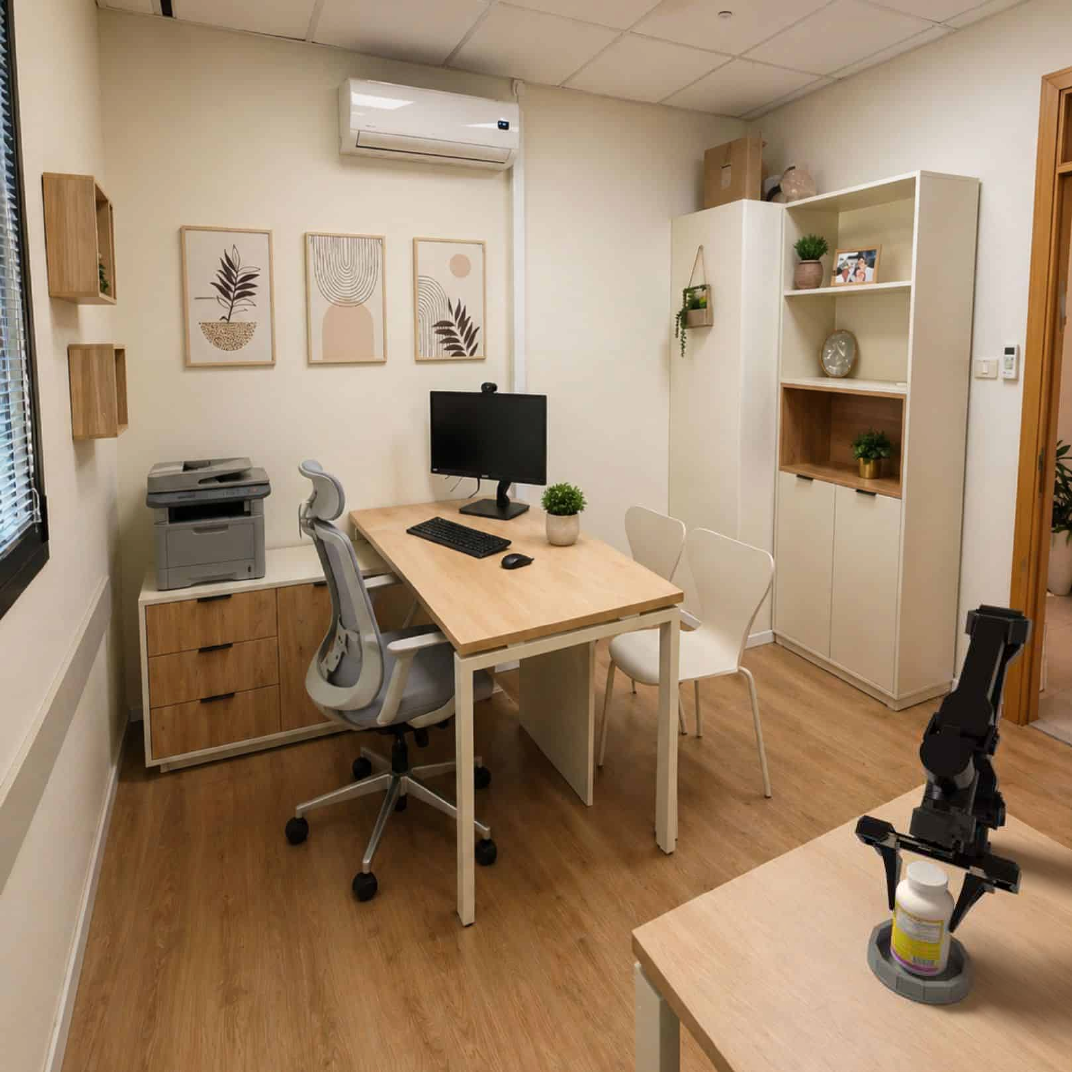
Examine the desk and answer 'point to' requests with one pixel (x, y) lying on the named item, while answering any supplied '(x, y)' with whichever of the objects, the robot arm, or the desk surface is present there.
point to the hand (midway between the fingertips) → (920, 921)
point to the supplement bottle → (922, 920)
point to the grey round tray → (914, 986)
